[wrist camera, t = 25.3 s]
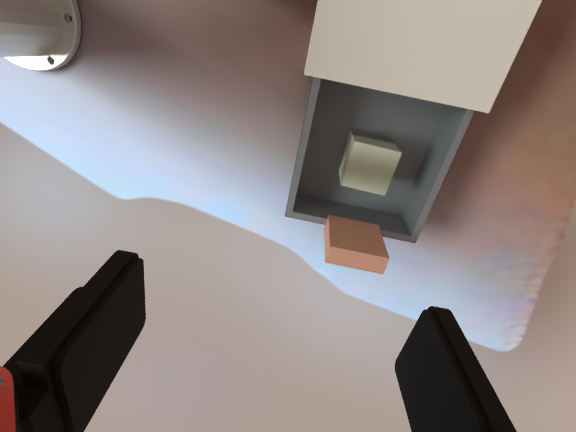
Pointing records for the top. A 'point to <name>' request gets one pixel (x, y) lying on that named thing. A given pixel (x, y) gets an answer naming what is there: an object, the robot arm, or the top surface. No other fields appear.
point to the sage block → (368, 162)
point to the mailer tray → (404, 184)
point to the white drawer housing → (420, 46)
